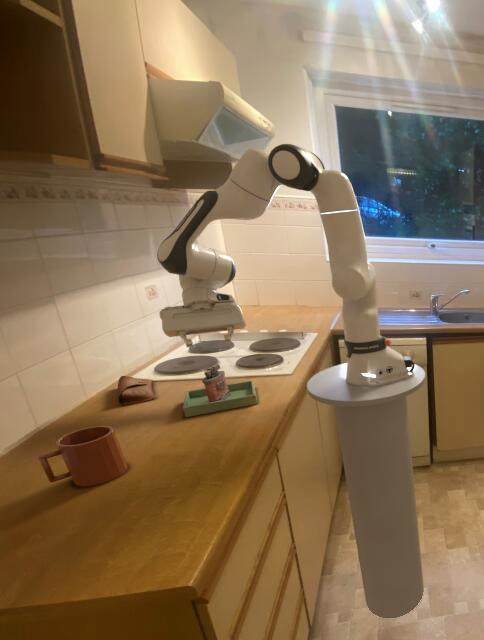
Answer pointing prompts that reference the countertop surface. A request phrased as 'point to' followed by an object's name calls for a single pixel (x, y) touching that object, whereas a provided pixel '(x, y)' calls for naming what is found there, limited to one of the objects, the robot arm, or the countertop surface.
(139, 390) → the sunglasses case
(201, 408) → the tray
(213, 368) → the lighter
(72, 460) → the mug
